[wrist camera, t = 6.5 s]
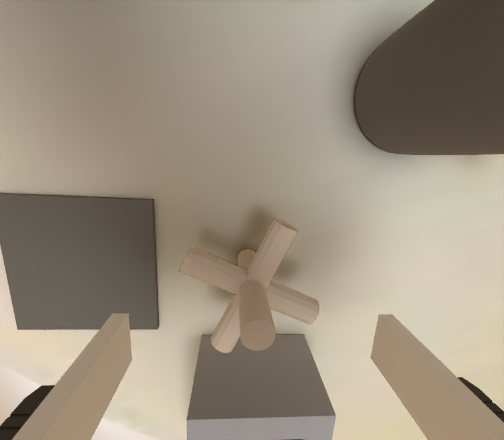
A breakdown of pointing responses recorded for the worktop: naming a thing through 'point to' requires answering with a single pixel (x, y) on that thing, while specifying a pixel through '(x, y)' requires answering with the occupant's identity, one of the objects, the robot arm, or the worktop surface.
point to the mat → (79, 260)
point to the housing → (259, 394)
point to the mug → (438, 82)
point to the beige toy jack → (252, 290)
